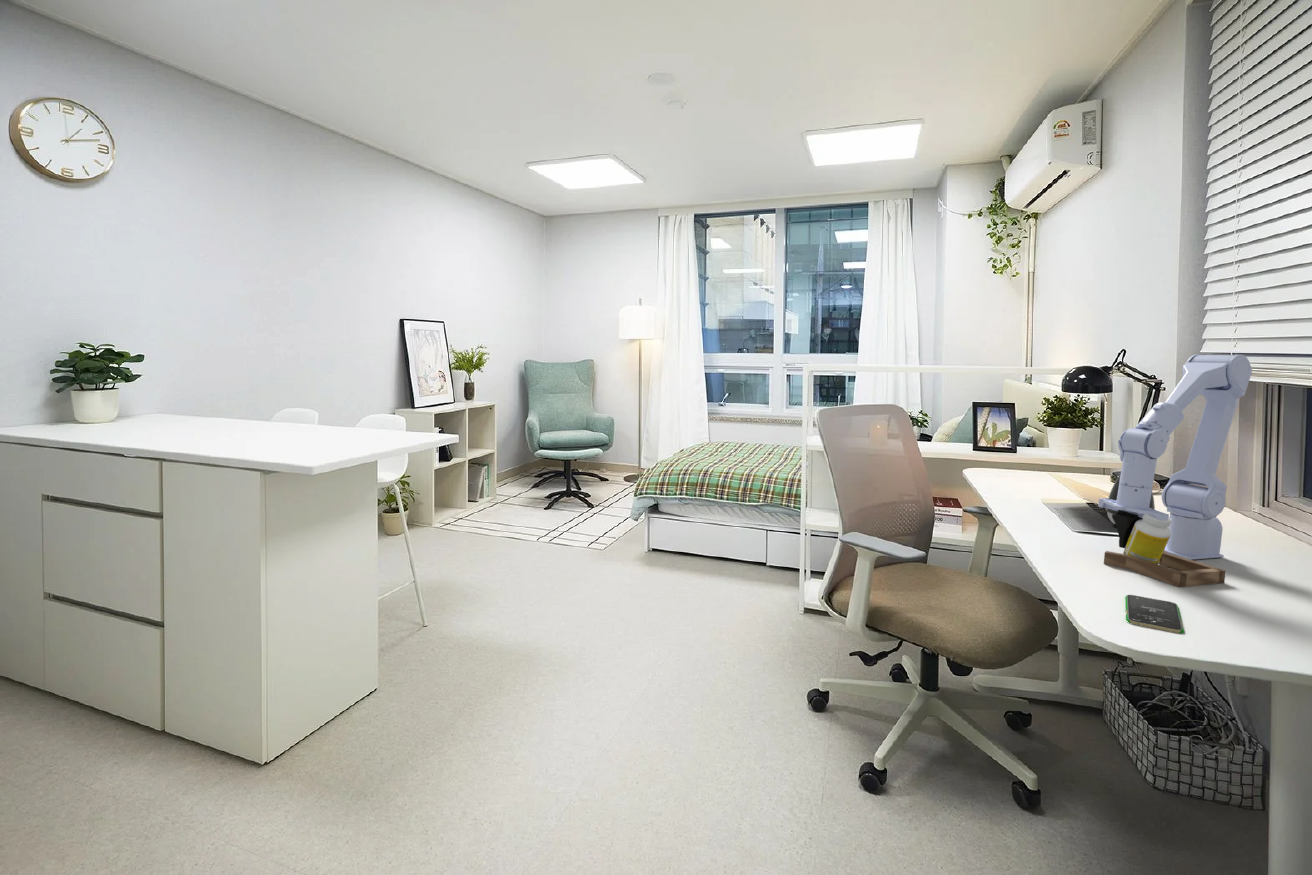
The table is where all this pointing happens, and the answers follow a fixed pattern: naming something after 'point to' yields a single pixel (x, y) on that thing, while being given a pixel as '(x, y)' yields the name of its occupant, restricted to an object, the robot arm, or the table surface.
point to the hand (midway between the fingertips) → (1125, 547)
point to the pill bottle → (1148, 538)
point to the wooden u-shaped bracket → (1169, 569)
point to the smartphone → (1153, 613)
